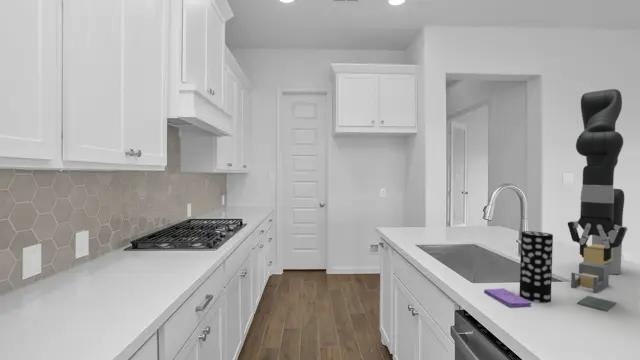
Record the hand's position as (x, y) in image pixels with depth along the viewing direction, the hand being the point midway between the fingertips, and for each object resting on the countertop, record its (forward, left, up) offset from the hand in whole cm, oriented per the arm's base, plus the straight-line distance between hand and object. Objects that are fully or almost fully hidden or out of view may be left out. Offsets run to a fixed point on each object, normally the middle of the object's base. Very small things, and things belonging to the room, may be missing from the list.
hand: (594, 258), depth 101 cm
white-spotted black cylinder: (+7, -13, -14) cm, 20 cm away
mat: (-3, 0, -14) cm, 14 cm away
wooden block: (-3, 0, -1) cm, 3 cm away
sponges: (+16, -17, -15) cm, 28 cm away
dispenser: (-21, -6, -14) cm, 26 cm away
